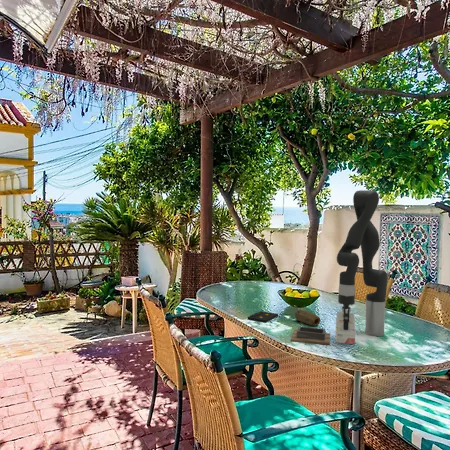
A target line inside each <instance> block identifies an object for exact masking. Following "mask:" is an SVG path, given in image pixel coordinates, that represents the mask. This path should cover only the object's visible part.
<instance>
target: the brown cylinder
mask: <svg viewBox="0 0 450 450" xmlns="http://www.w3.org/2000/svg"><path fill="white" fill-rule="evenodd" d="M294 318H295V319H296V320H297V321H298V322H300V323H303V324H305V325H310V326H312V327H313V326H318V325H320V323H321V318H320V316H318V315H317V314H315V313H312V312H309V311H307V310H305V309H298V310H296V311H295V313H294Z"/></svg>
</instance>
